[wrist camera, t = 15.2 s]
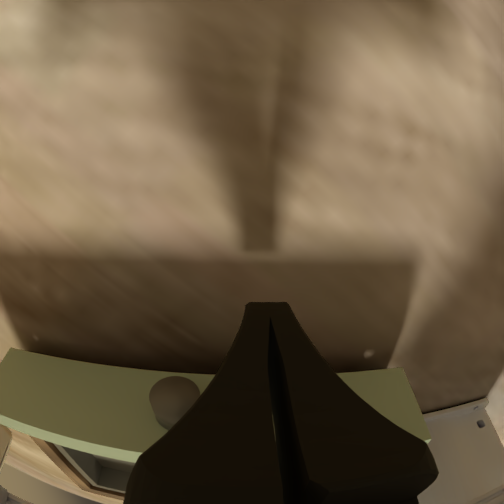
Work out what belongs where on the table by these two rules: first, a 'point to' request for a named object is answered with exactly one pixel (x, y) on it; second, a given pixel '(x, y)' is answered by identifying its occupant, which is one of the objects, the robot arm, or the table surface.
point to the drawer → (140, 408)
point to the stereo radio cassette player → (4, 443)
